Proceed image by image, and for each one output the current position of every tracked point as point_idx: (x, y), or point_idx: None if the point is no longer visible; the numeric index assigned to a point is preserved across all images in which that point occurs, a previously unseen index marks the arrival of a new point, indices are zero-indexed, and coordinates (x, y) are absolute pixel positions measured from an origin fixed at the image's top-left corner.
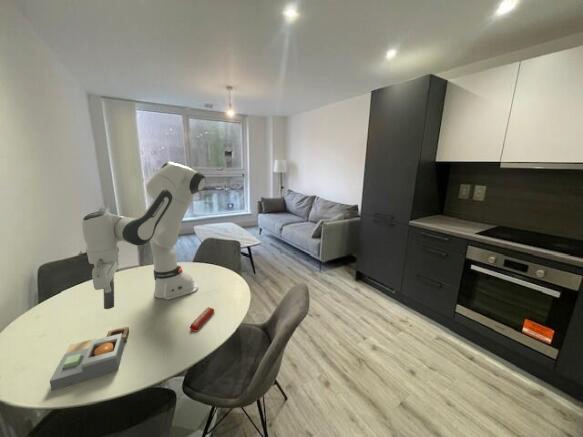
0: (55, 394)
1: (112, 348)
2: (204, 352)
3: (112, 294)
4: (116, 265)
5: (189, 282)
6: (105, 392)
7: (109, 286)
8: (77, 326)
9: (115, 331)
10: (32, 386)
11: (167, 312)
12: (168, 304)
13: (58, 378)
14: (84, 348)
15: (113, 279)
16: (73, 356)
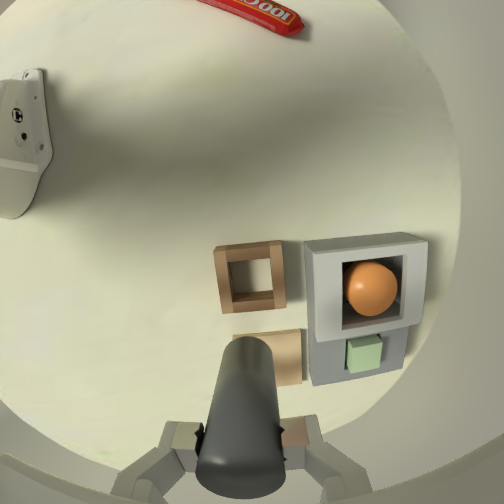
0: (408, 341)
1: (377, 264)
2: (398, 25)
3: (263, 387)
4: (16, 500)
5: (9, 82)
6: (450, 241)
7: (344, 455)
8: (147, 394)
9: (230, 290)
10: (359, 393)
11: (131, 130)
12: (80, 142)
13: (404, 355)
14: (273, 352)
15: (156, 460)
16: (357, 361)
